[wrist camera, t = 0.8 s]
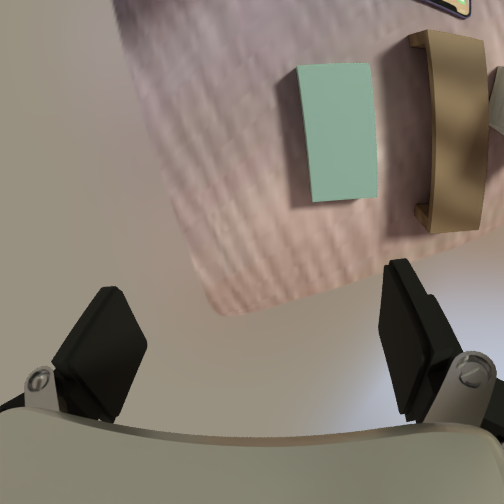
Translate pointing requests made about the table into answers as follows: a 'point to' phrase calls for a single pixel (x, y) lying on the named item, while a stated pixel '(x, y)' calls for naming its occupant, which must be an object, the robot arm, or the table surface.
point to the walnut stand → (455, 131)
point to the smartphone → (453, 6)
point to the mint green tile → (339, 130)
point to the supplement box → (497, 102)
